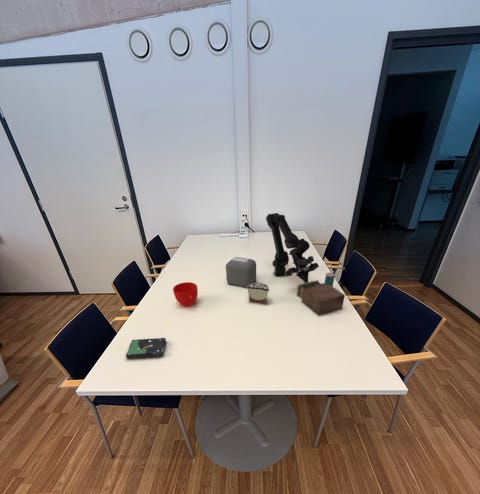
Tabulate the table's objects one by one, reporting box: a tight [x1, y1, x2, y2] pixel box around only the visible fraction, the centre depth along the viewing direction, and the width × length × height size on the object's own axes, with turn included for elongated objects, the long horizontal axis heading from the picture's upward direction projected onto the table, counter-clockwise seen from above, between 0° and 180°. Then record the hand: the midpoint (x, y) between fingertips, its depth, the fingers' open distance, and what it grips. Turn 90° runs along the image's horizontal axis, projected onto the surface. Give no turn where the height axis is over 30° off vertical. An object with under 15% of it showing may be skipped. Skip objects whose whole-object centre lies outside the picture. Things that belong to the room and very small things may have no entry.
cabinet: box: [301, 282, 346, 317], centre depth 139 cm, size 15×14×8 cm
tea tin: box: [324, 272, 336, 288], centre depth 152 cm, size 5×5×10 cm
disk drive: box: [125, 337, 167, 360], centre depth 114 cm, size 10×3×15 cm
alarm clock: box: [225, 256, 257, 288], centre depth 162 cm, size 16×11×16 cm
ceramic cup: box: [172, 281, 199, 307], centre depth 143 cm, size 13×17×10 cm
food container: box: [246, 282, 270, 306], centre depth 145 cm, size 12×6×10 cm, turn 71°
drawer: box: [296, 279, 322, 299], centre depth 145 cm, size 18×13×7 cm
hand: (307, 283), depth 148 cm, fingers closed, pressing on drawer
